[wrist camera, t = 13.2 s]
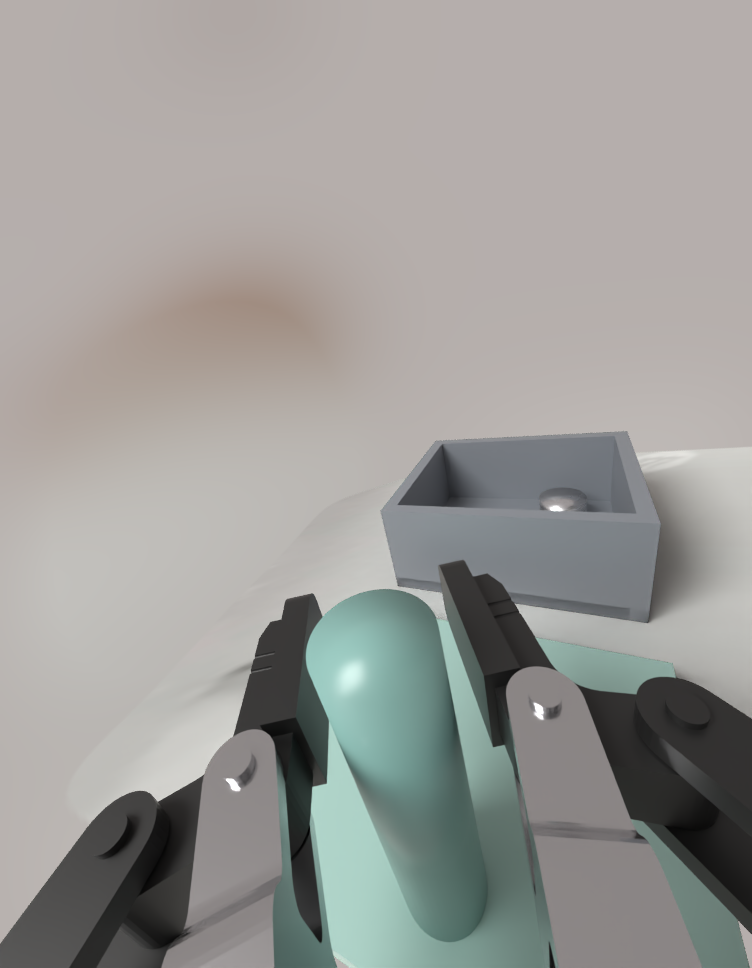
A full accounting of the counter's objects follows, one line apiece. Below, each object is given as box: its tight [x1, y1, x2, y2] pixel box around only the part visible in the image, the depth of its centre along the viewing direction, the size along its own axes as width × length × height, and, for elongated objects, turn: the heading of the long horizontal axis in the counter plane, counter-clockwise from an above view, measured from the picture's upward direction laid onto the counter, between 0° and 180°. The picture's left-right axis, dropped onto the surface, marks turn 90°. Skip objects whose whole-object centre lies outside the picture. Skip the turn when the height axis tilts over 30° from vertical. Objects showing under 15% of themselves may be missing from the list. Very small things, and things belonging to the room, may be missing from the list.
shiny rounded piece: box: [539, 488, 587, 512], centre depth 26 cm, size 3×3×2 cm
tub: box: [381, 431, 661, 623], centre depth 25 cm, size 14×12×6 cm
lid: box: [306, 589, 750, 968], centre depth 12 cm, size 14×12×12 cm
